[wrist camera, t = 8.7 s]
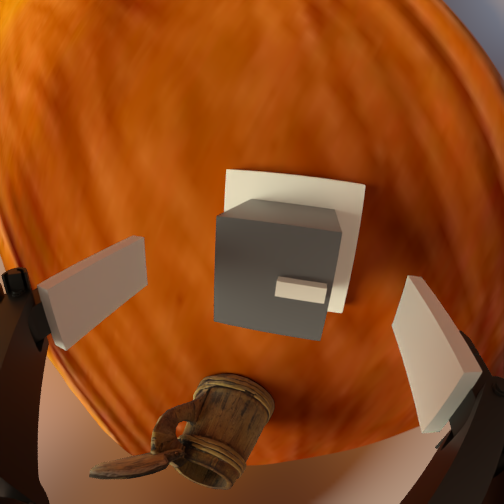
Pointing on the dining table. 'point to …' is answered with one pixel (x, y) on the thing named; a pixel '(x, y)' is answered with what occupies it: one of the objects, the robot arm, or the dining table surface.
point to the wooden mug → (203, 435)
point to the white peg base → (311, 194)
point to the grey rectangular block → (275, 267)
